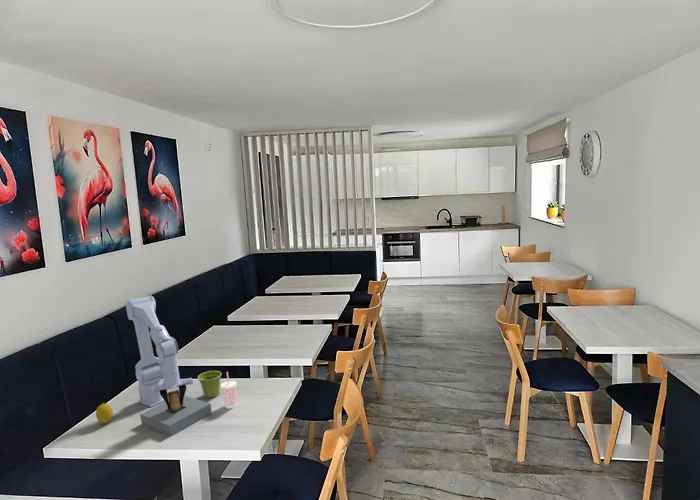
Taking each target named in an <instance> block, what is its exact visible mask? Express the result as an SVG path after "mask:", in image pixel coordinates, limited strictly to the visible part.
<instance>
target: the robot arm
mask: <svg viewBox="0 0 700 500" xmlns="http://www.w3.org/2000/svg"><path fill="white" fill-rule="evenodd" d="M156 304H157V303H156V299H155V298H154V296H152V295H147V296H143V297H139V298H134V299H128V300H127V301H126V303H125V308H126V309H125V310H126V313H127V314H126V315H127V318H128V321H129V320H130V321H133V325H134V329H135V334H136V338H137V339H136V340H137V343H138V344H137V345H138V349H139V355H140V360H138V362H137V363H136V364H135V376H136V380H137V382H138V386H137V388H138V389H137V390H138V393H139V400H138V401H137V402H138V403H139V404H142V405H144V406H147V407H150V408H151V407H152V408H154V407H156V405H157V406H158V405H160V404H162V403H164V402H166V404H167V407H168V409H170V405H169V399H168V390H175V389H176V388H178V390H179V394H180V401H181V406H182V405H183V399H184V395H185V394H186V392H187V386H188V385H194V381H193V378H192V377H188V378H180V371H179V364H178V357H177V354H178V353H179V346H178V342H177V341H176V339H175V338H174V337H173V336H170V335H169V333H168V331H167V329H166V327H165V326H164V325H162V324H160V321H159V319H158V317H157V314H156V307H157V305H156ZM149 329H150V330H149ZM152 341H153V343H154V345H155V346H156V347H155V351H156V354H157V357H156V356H155V355H154V350H153V349H154V348H153V345H152ZM162 381H163V383H162ZM185 396H186V395H185Z"/></svg>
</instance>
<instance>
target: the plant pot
mask: <svg viewBox="0 0 700 500" xmlns="http://www.w3.org/2000/svg"><path fill="white" fill-rule="evenodd" d="M221 376H222V372H221V371H219V370H208V371H205V372H202V373H200V374H199V375H198V376H197V379H198V381H199V382H200V385H201V388H202V392H203V396H204V397H205V398H206V399H209V398H216V397H218V396H219V395H220V391H221V390H220V389H221V378H222V377H221Z"/></svg>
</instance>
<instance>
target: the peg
mask: <svg viewBox="0 0 700 500" xmlns="http://www.w3.org/2000/svg"><path fill="white" fill-rule="evenodd" d="M167 394H168V401H169V405H170V412H171V413H173V414H175V413H177V412H179V411H180V410H182V409H181V401H180V393H179V389H172V390H171V391H167Z"/></svg>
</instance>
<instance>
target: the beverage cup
mask: <svg viewBox="0 0 700 500" xmlns="http://www.w3.org/2000/svg"><path fill="white" fill-rule="evenodd" d="M226 378H227V381H224V382H222V383H220V389H221V391H222V396H223V402H224V407H225V408H226V409H234V408H236V407H237V406H238V394H237V393H238V392H237V391H238V390H237V385H238V383H237V381H235V380H230V377H229V372H228V371H226Z"/></svg>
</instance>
